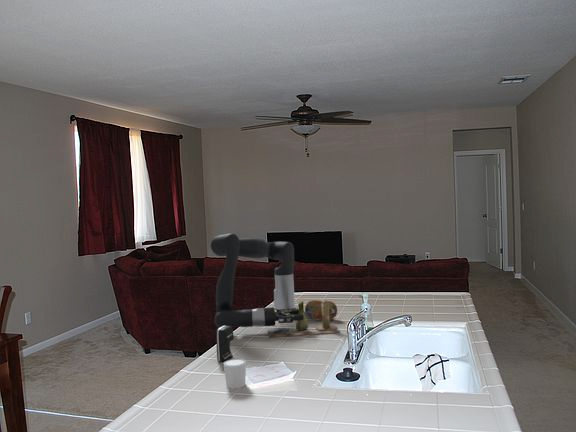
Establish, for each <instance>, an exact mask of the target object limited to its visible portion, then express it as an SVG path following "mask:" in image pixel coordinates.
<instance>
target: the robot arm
mask: <svg viewBox="0 0 576 432" xmlns="http://www.w3.org/2000/svg"><path fill="white" fill-rule="evenodd" d="M210 249H211V251H212V253H213V254H215V255H216V256H218V257H225V264H224V266H223V269H222V270H221V274H220V275H219V277H218V280H217V283H216V288H215V303H216V307H215V308H216V309H215V315H214V321H213V322H214V324H215V326H216V327H217V328H220V327H222V326H231V327H232V328H238V327H240V328H250V327H252V328H253V327H255V328H261V327H262V328H264V327H274V326H275V327H276V322H278V324H288V323H289V324H291V323H294V322H295V321H296V322H297V320H304V316H303V314H301V315H299V309H295V308H296V307H295V303H296V302H295V281H294V268H295V248H294V245H293V243H292V242H290V241H272V242H270V241H266V240H264V239H262V238H255V237H244V238H243V237H242V238H239V237H238V235H236V234H235V233H232V232H231V233H225V234H220V235H219V234H218V235H216V236H215V237H214V238H213V239H212V240H211V243H210ZM239 257H241V258H249V259H264V258H267V259H272V260H275V261H281V265H280V266H278V267H275V268H274V283H275V284H274V287H275V288H274V289H273V302H274V303H273V304H274V307H260V308H259V307H258V308H253V309H252V308H251V309H241V310H240V309H239V310H234V309H233V300H234V299H233V298H234V282H235V275H236V270H237V267H238V261H239V260H238V259H239ZM275 309H276V311H275Z"/></svg>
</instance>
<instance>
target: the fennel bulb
mask: <svg viewBox="0 0 576 432" xmlns="http://www.w3.org/2000/svg"><path fill="white" fill-rule="evenodd" d="M297 307H298V310H299V315H301V314H303V316H304V320H297V321H296V323H295V328H296V330H297V331H298V332H304V331H306V330H308V327H309V322H308V320H307V318H306V316H305V312H304V311H305V308H304V301H303V300H302V301H299V302H298V306H297Z"/></svg>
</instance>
